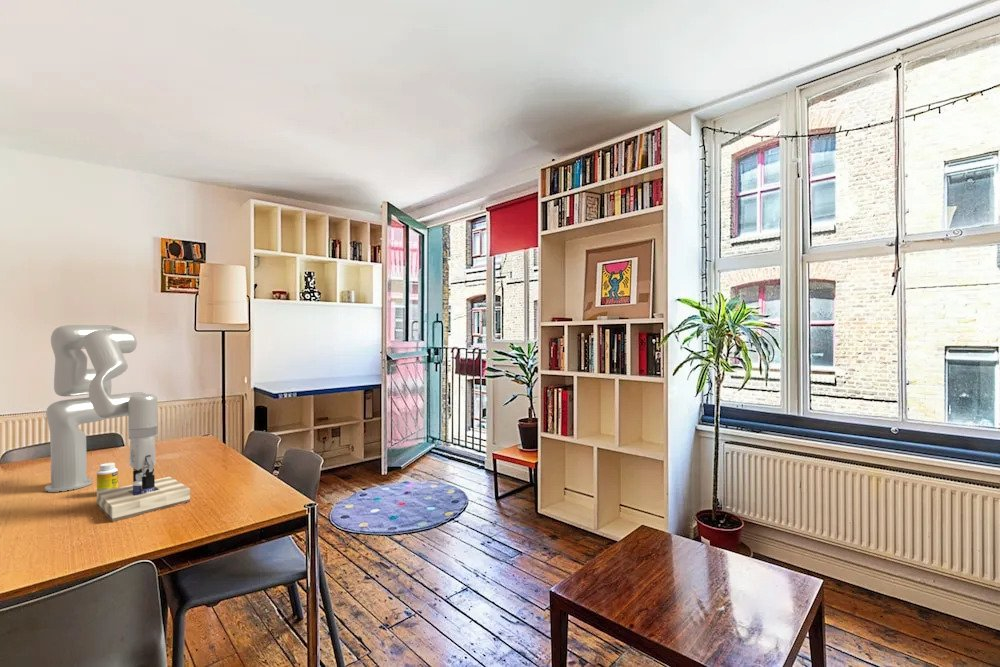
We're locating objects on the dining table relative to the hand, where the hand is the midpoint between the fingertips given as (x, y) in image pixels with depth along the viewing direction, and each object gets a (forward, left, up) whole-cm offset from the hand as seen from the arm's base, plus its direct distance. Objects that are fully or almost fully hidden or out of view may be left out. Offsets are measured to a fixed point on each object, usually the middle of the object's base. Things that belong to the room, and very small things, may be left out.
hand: (143, 484), depth 150 cm
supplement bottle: (-22, -5, -6) cm, 23 cm away
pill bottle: (0, 0, -6) cm, 6 cm away
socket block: (0, 0, -6) cm, 6 cm away
